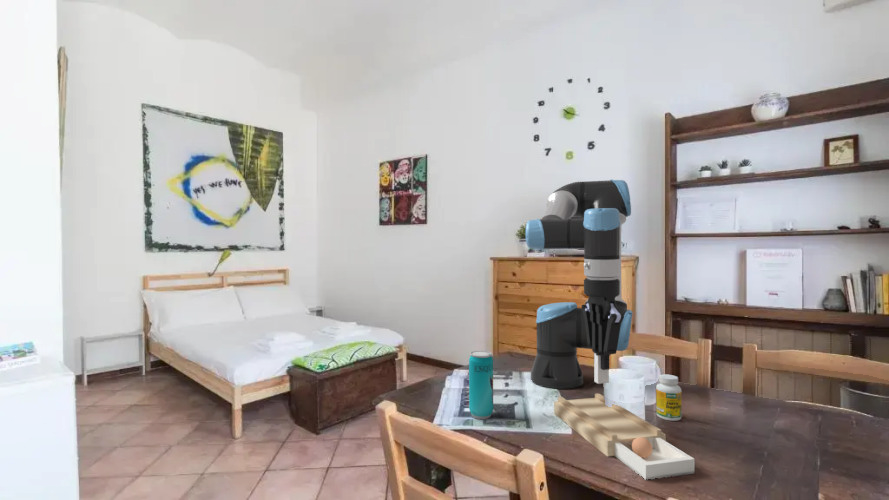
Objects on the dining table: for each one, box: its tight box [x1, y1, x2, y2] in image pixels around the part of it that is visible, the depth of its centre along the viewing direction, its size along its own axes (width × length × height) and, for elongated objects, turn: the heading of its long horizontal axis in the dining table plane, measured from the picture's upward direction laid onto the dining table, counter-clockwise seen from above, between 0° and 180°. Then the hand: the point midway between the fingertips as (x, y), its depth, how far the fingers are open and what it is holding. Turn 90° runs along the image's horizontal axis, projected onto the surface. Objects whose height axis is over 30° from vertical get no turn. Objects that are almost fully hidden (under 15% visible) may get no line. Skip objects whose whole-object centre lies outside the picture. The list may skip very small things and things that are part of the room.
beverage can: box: [468, 350, 494, 420], centre depth 105 cm, size 6×6×15 cm
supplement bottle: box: [655, 373, 683, 422], centre depth 104 cm, size 5×5×10 cm
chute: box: [553, 392, 667, 457], centre depth 96 cm, size 22×13×4 cm, turn 13°
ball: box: [632, 437, 652, 458], centre depth 83 cm, size 4×4×4 cm
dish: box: [613, 437, 696, 481], centre depth 82 cm, size 10×10×3 cm
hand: (601, 381), depth 98 cm, fingers closed
